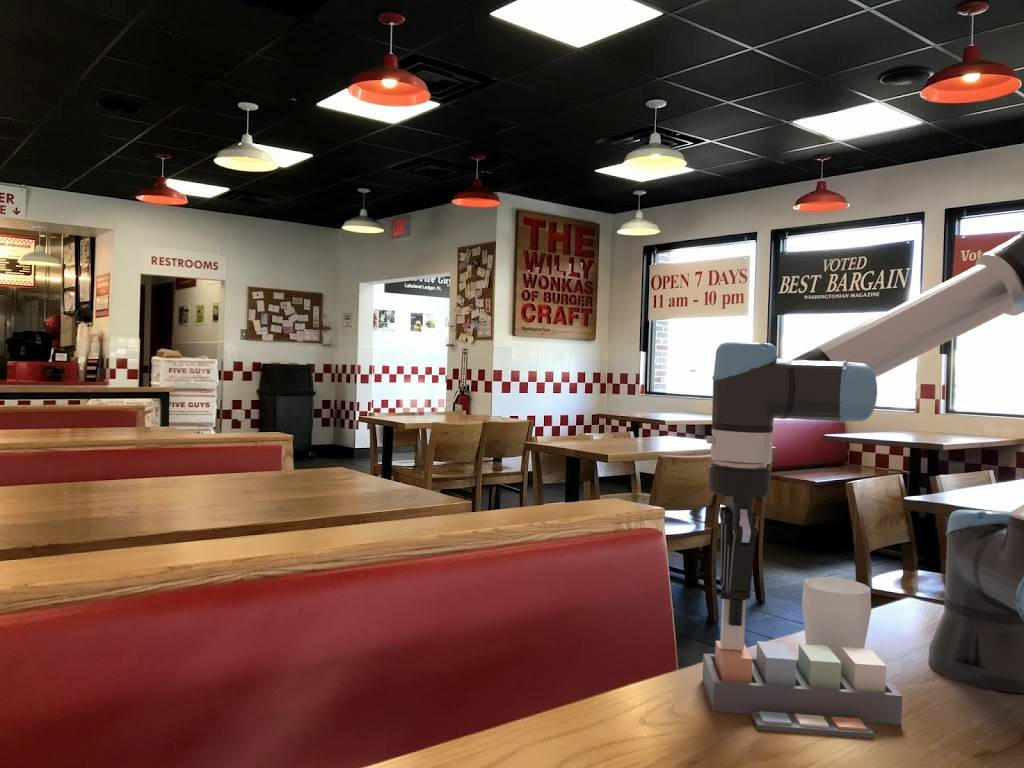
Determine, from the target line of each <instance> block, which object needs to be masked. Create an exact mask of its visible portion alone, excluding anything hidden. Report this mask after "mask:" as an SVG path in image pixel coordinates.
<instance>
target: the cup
mask: <svg viewBox="0 0 1024 768" xmlns="http://www.w3.org/2000/svg"><path fill="white" fill-rule="evenodd" d="M871 594H872V593H871V588H870V586H868V585H867V584H865V583H861V582H858V581H856V580H851V579H847V578H839V577H831V576H816V577H809V578H805V579H804V581H803V590H802V597H801V606H802V617H803V626H804V635H805V644H808V645H823V646H828V647H829V648H830V650H831V651H832V652H833V653H834V655H835V656H836V657H837V658H838V659H839V661H840V657H841V647H854V648H865V645H866V639H867V636H868V632H869V631H868V630H869V625H870V620H871V616H872V604H871V603H872V601H871V597H872V595H871Z"/></svg>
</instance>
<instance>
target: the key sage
mask: <svg viewBox="0 0 1024 768" xmlns="http://www.w3.org/2000/svg"><path fill="white" fill-rule="evenodd" d="M797 652H798V653H797V654H798V655H797V660H798V671H799V673H800V674H801V676H802V677H803V679H804V680H805V682H806V683H807V685H808V686H809V687H818V688H832V689H840V681H841V662H840V661H839V659H838V658H837V657H836V656H835V655H834V653H833V652H832V651H831V650H830V648H829V647H828V646H823V645H808V644H806V643H805V644H804V643H798V651H797Z"/></svg>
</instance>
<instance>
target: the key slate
mask: <svg viewBox="0 0 1024 768" xmlns="http://www.w3.org/2000/svg"><path fill="white" fill-rule="evenodd" d="M755 657H756V668H757V670H758V672H759V674H760V676H761V678H762V680H763V682H764V684H776V685H790V686H796V662H797V660H798V659H797V658H796V657H795V655H794V654H793V652H792V650H790V647H789V646H788V645H787V643H786V642H777V641H773V642H772V641H760V640H759V641H758V640H757V641H756V656H755Z"/></svg>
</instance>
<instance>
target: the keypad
mask: <svg viewBox="0 0 1024 768" xmlns="http://www.w3.org/2000/svg"><path fill="white" fill-rule="evenodd" d="M702 655H703V656H702V657H703V658H702V682H703V686H704V688H705V691H706V695H707V697H708V700H709V703H710V706H711V709H712V711H713V712H719V713H720V712H724V713H732V714H734V713H736V714H738V713H739V714H747V715H748V714H750V715H752V711H754V712H759V711H764V712H777V713H787V714H794V715H795V714H804V715H818V716H823V717H845V718H858V719H861V720H865V722H866V723H867V724H882V725H884V724H885V725H893V726H895V725H896V726H897V725H898V726H901V725H902V718H903V717H902V714H903V712H902V711H903V695H902V694H901V692H900V691H898V689H896V687H895V686H894V685H893V684H892V683H891V682H890V681H889V679H887V678H886V688H885V692H875V691H861V690H854V689H853V688H852V687H851V686H850V684H849V683H848V682H847V680H846V679H845V678H844V677H843V675H842V674H841V681H840V689H832V688H818V687H809V686H808V685H807V683H806V682H805V680H804V679H803V677H802V676H801V674H800V673H799V671H798V659H796V660H797V662H796V686H790V685H776V684H764V682H763V680H762V678H761V676H760V674H759V672H758V670H757V668H756V656H751V657H752V682H751V683H747V682H733V681H720V679H719V677H718V674H717V671H716V669H715V653H703V654H702Z"/></svg>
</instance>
